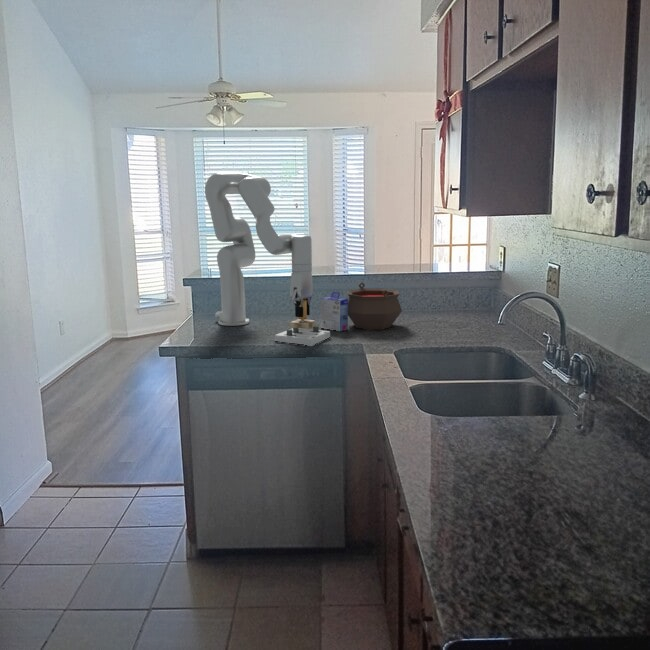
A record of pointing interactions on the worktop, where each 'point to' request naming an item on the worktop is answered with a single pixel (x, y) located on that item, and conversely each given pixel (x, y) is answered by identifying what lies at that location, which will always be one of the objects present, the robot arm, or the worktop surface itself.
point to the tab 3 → (316, 329)
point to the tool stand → (303, 324)
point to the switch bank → (303, 337)
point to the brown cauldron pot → (373, 307)
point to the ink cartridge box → (334, 313)
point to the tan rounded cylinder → (304, 305)
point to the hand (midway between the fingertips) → (302, 315)
